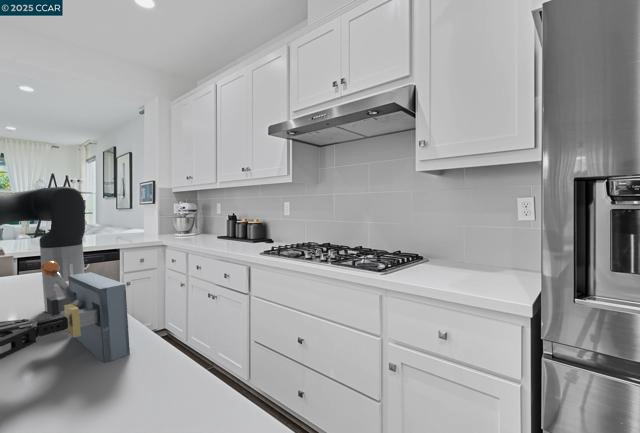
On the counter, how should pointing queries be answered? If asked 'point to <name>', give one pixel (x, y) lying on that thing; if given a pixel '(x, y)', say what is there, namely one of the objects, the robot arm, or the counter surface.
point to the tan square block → (79, 318)
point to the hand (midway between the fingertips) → (66, 321)
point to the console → (103, 315)
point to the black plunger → (56, 304)
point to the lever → (61, 282)
